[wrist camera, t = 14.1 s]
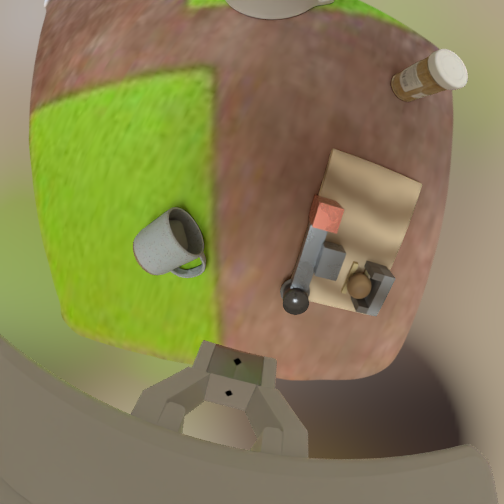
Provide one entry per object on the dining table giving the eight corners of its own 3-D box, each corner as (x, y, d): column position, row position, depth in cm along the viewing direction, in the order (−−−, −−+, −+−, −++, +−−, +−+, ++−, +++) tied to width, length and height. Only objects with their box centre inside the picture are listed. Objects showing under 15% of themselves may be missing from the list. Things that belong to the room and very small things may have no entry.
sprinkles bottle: (413, 107, 29) (466, 96, 17) (386, 92, 29) (432, 71, 16) (419, 82, 27) (471, 64, 15) (393, 67, 27) (438, 39, 15)
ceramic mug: (144, 228, 40) (119, 246, 33) (182, 200, 38) (160, 214, 31) (182, 281, 43) (165, 307, 36) (221, 259, 41) (210, 284, 34)
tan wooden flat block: (323, 145, 33) (330, 145, 28) (417, 182, 33) (435, 189, 28) (277, 294, 42) (276, 314, 37) (363, 315, 42) (370, 335, 37)
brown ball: (350, 266, 37) (355, 277, 34) (371, 272, 37) (378, 284, 33) (341, 287, 38) (345, 300, 35) (362, 293, 38) (368, 306, 35)
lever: (312, 193, 34) (317, 201, 29) (353, 206, 34) (364, 215, 29) (280, 299, 40) (279, 319, 35) (316, 308, 40) (320, 328, 35)
